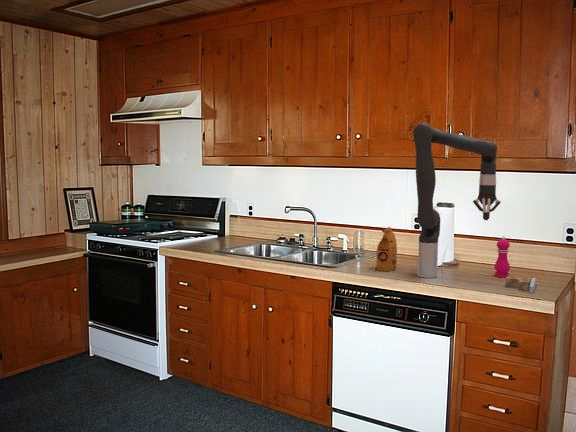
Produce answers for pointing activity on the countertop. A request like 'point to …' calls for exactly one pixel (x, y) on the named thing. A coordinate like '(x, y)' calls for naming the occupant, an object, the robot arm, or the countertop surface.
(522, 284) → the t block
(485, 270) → the countertop surface
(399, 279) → the countertop surface
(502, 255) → the pepper mill
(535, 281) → the stop rail
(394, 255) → the coffee package
